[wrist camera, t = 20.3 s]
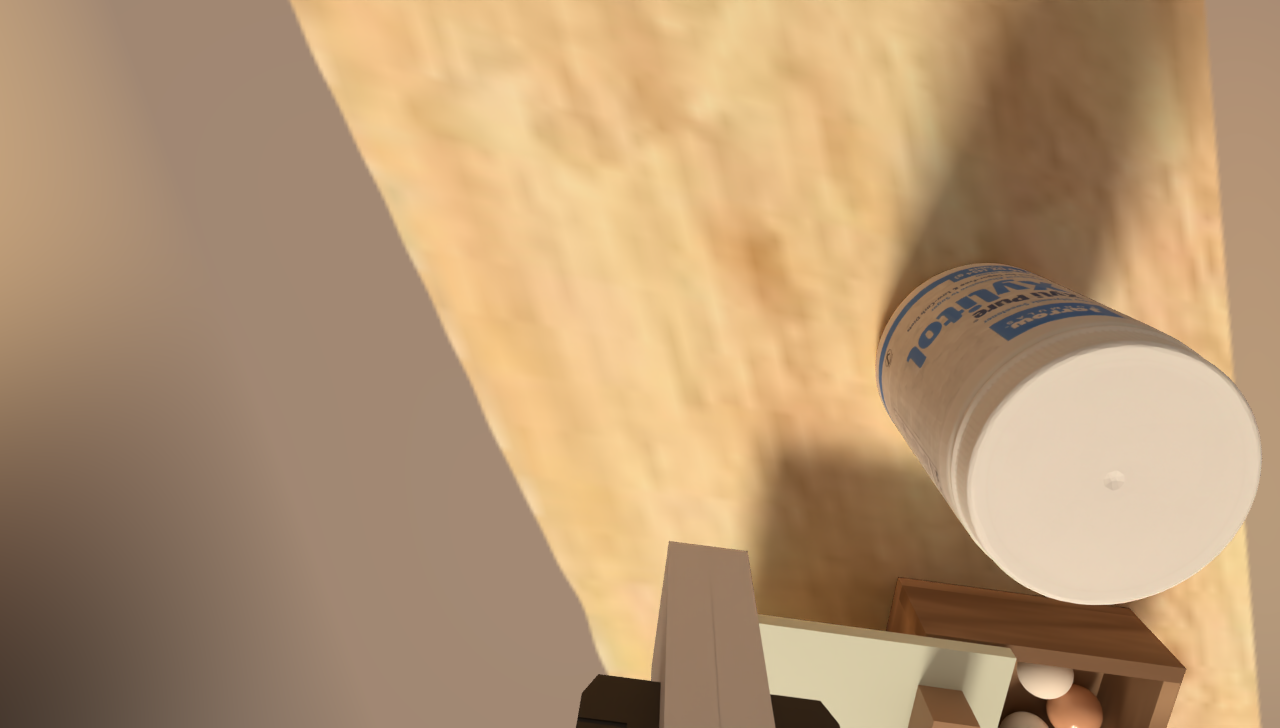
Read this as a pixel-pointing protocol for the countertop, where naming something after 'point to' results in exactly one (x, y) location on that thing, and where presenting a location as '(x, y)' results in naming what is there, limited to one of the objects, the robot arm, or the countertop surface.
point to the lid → (886, 675)
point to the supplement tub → (1068, 433)
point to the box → (1052, 646)
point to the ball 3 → (1075, 709)
